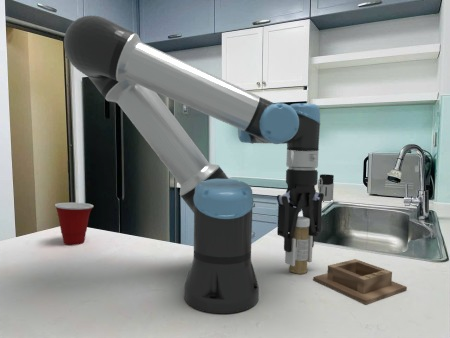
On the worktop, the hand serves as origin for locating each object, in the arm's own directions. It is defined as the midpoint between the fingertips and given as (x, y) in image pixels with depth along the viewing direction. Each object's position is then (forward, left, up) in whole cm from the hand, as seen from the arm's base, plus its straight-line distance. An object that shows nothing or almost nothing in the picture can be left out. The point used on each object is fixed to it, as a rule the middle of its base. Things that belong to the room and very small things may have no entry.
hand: (298, 262), depth 86 cm
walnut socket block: (+6, -13, -2) cm, 14 cm away
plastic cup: (-44, +51, -2) cm, 67 cm away
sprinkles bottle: (0, 0, -2) cm, 2 cm away
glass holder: (+87, +72, -2) cm, 114 cm away
